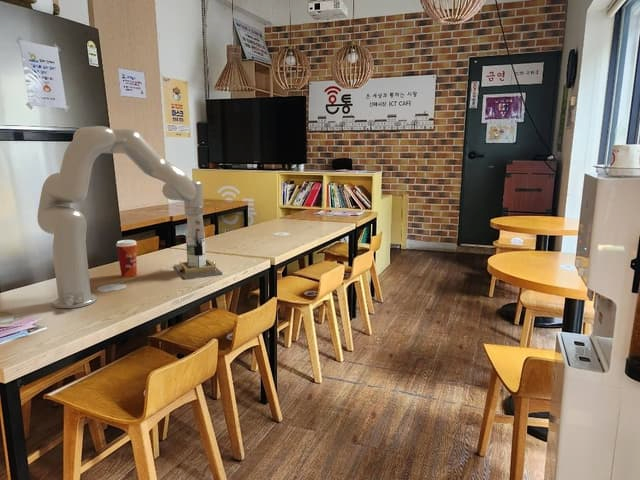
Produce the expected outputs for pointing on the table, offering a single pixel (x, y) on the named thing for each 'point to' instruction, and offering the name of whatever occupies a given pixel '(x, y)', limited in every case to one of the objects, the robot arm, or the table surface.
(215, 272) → the gray gold framed panel
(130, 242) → the paper cup
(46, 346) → the table surface
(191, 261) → the syrup box
